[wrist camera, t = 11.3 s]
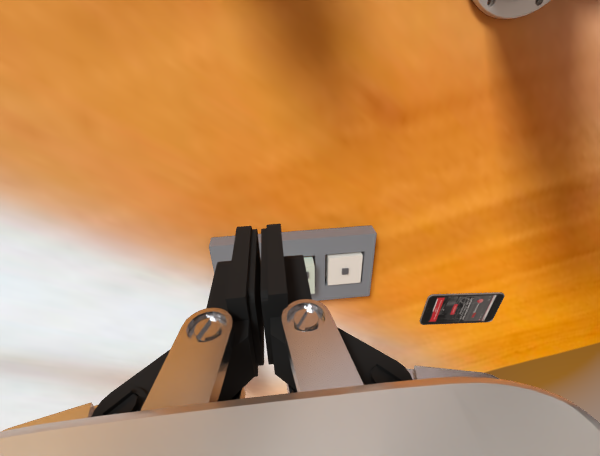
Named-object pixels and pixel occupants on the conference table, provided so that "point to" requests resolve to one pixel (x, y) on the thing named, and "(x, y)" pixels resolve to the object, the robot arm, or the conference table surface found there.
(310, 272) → the tile two
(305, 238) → the console
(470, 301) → the smartphone
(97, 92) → the conference table surface
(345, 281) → the tile one
